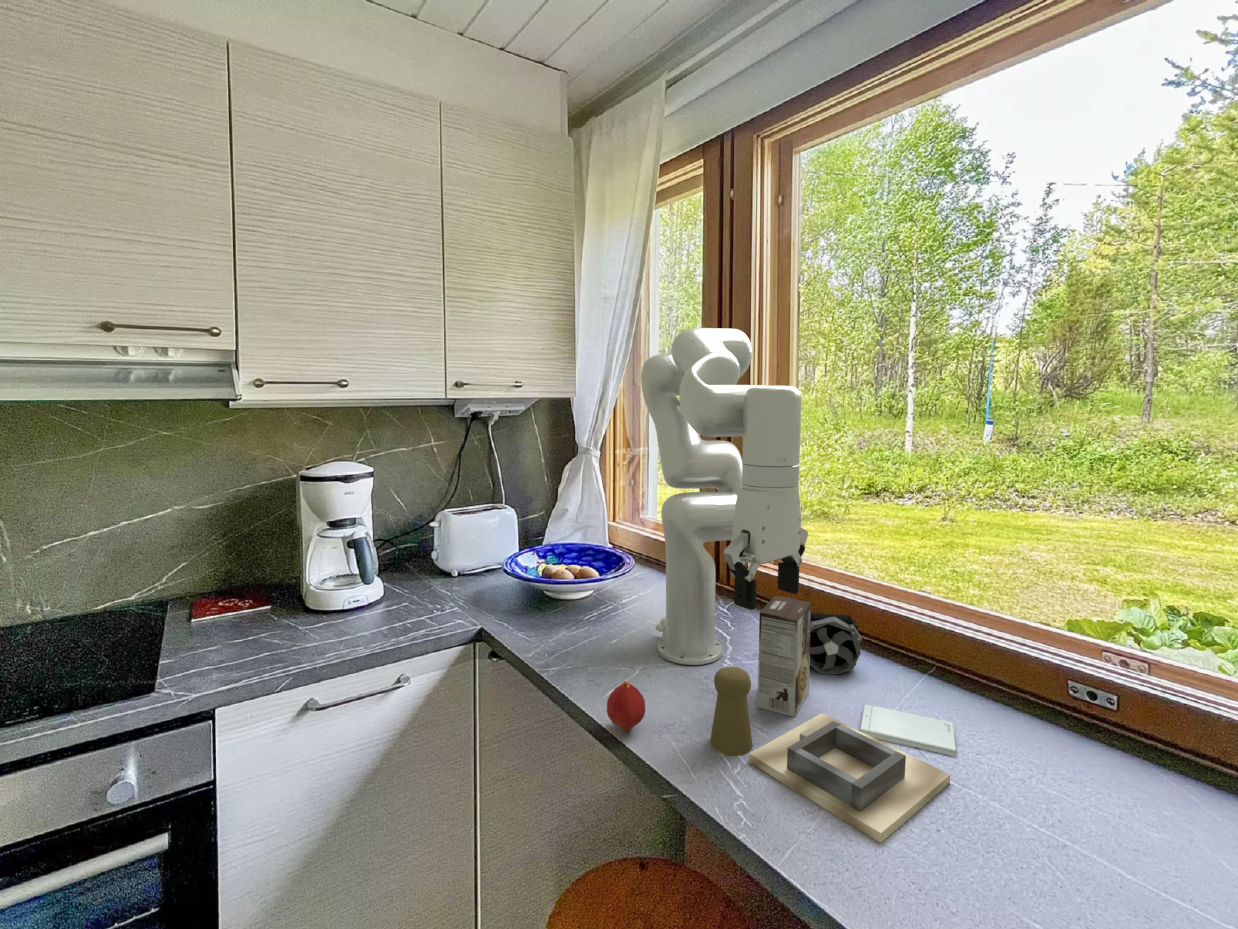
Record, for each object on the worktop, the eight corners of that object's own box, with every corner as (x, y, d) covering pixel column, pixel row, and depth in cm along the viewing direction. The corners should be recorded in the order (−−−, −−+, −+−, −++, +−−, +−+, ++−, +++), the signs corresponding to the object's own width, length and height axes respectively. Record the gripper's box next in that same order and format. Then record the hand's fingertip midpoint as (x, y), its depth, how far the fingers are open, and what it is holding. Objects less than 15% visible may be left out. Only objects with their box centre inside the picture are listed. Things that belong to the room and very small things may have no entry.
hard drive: (953, 721, 90) (864, 702, 95) (956, 750, 83) (860, 727, 88) (952, 731, 90) (864, 711, 96) (955, 761, 83) (859, 738, 88)
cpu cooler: (800, 672, 108) (802, 619, 107) (798, 659, 114) (800, 608, 112) (861, 679, 106) (863, 624, 105) (856, 665, 111) (858, 612, 110)
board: (748, 761, 82) (749, 732, 81) (821, 720, 92) (822, 694, 92) (880, 843, 67) (882, 808, 66) (949, 783, 77) (951, 752, 77)
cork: (753, 734, 88) (755, 664, 87) (751, 758, 83) (753, 683, 81) (712, 728, 90) (713, 659, 89) (707, 751, 84) (708, 677, 83)
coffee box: (772, 684, 104) (774, 594, 102) (809, 693, 101) (813, 601, 99) (755, 707, 96) (757, 611, 94) (795, 718, 93) (798, 618, 91)
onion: (601, 724, 92) (601, 674, 91) (636, 717, 94) (636, 668, 93) (614, 744, 86) (614, 692, 85) (651, 736, 88) (651, 685, 87)
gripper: (784, 469, 89) (781, 580, 91) (706, 480, 78) (704, 605, 80) (830, 474, 84) (825, 592, 86) (752, 486, 73) (749, 622, 75)
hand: (767, 598), depth 83 cm, fingers open, 9 cm apart
